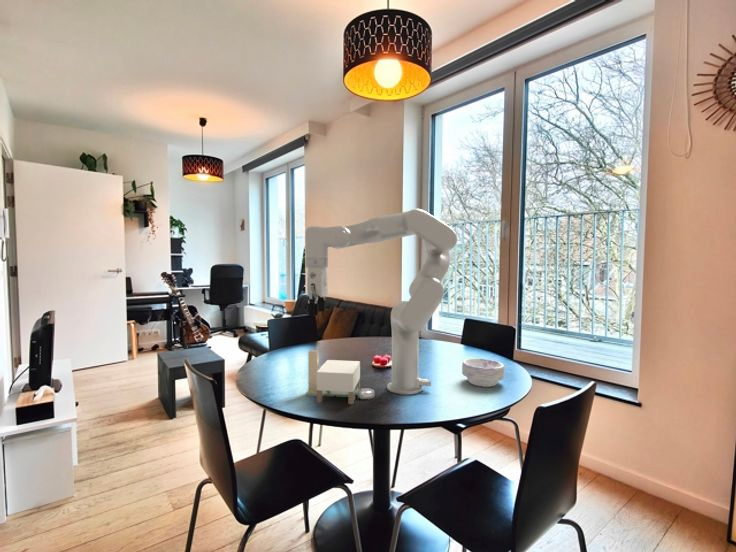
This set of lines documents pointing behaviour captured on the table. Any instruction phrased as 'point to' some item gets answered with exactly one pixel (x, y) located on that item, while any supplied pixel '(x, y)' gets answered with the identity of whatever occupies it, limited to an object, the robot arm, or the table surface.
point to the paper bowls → (483, 371)
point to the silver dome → (365, 393)
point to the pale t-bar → (312, 378)
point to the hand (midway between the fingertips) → (317, 313)
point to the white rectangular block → (338, 378)
